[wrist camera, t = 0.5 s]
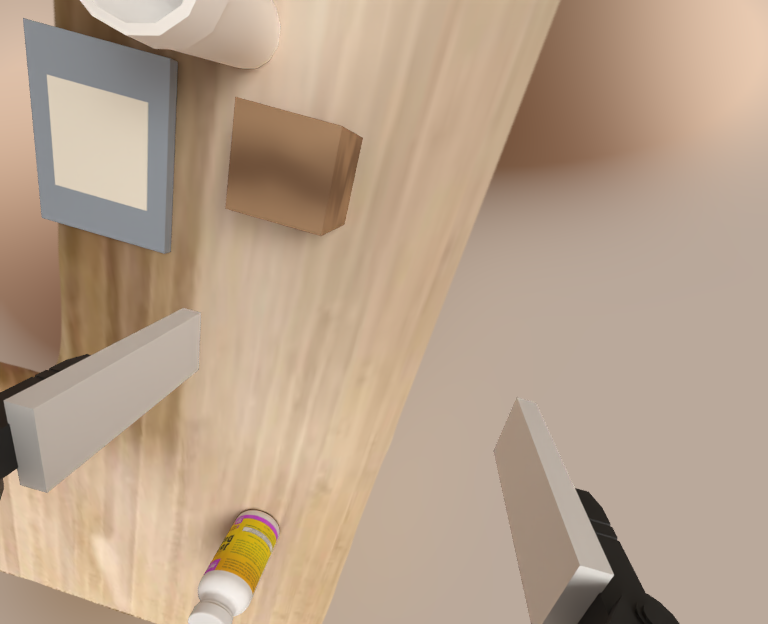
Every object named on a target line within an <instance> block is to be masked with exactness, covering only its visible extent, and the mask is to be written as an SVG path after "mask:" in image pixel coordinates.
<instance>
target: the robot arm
mask: <svg viewBox="0 0 768 624" xmlns="http://www.w3.org/2000/svg"><path fill="white" fill-rule="evenodd" d="M200 326H201V312H197V311H193V310H189V309H186V308H182V309H180V310H178V311H176V312H174V313H172V314H170V315H169V316H167V317H165V318H163V319H161V320H159V321H157V322H155V323H153V324H151V325H149V326H147V327H145V328H143V329H141V330H139V331H137V332H136V333H134V334H132V335H130V336H128V337H126V338H124V339H122V340H120V341H118V342H116V343H114V344H112V345H110V346H108V347H106V348H105V349H103V350H101V351H99V352H97V353H95V354H93V355H88V354H86V355H82V356H79V357H75V358H72V359H68V360H65V361H63V362H61V363H59V364H57V365H55V366H53V367H51V368H50V369H49V370H45V371H43V372H41V373H39V374H37V375H35V377H34V378H33V377H31V378H29V379H27V380H25V381H23V382H21V383H19V384H17V385H15V386H13V387H11V388H9V389H7V390H5V391H3V392H0V499H1V496H2V493H3V490H4V483H3V478H4V477H5V476H7V475H8V474H10V473H11V472H12V471H14V470H15V469H17V471H18V476H19V481H20V485H22V486H25V487H29V488H32V489H35V490H39V491H42V492H46V493H48V492H49V491H50V490H51V489H52V488H54V487H55V486H56V485H57V484H59V483H60V482H61V481H62V480H64V479H65V478H66V477H67V476H68V475H70V474H71V473H72V472H73V471H75V470H76V469H77V468H78V467H80V466H81V465H82V464H83V463H84V462H86V461H87V460H88V459H89V458H91V457H92V456H93V455H94V454H96V453H97V452H98V451H99V450H101V449H102V448H103V447H104V446H105V445H107V444H108V443H109V442H110V441H112V440H113V439H114V438H115V437H117V436H118V435H119V434H120V433H121V432H123V431H124V430H125V429H126V428H128V427H129V426H130V425H131V424H133V423H134V422H135V421H136V420H137V419H139V418H140V417H141V416H142V415H144V414H145V413H146V412H147V411H149V410H150V409H151V408H152V407H153V406H155V405H156V404H157V403H158V402H160V401H161V400H162V399H163V398H165V397H166V396H167V395H168V394H169V393H171V392H172V391H173V390H174V389H176V388H177V387H178V386H179V385H181V384H182V383H183V382H184V381H186V380H187V379H188V378H189V377H190V376H192V375H193V374H194V373H195V372H197V371H198V370H199V351H200ZM494 455H495V459H496V464H497V468H498V473H499V478H500V483H501V487H502V491H503V496H504V501H505V505H506V510H507V515H508V520H509V524H510V529H511V534H512V538H513V543H514V547H515V552H516V557H517V561H518V566H519V571H520V575H521V580H522V584H523V589H524V593H525V598H526V603H527V608H528V612H529V617H530V621H531V624H679V623H678V621H677V620H676V618H675V617H674V616H673V614H672V613H670V612H669V611H668V610H667V609H666V608H665V607H664V606H663V605H662V604H661V603H660V602H659V601H657V600H656V599H654V598H653V597H651V596H650V595H648V594H646V593H645V591H644V589H643V587H642V585H641V583H640V581H639V579H638V577H637V575H636V573H635V571H634V569H633V567H632V565H631V564H630V562H629V560H628V558H627V556H626V554H625V552H624V550H623V548H622V546H621V544H620V542H619V541H617V536H616V534H615V532H614V530H613V528H612V527H610V522H609V520H608V518H607V516H606V514H605V512H604V510H603V508H602V507H601V506H600V505H599V503H598V502H597V501H596V500H595V499H594V498H593V497H592V495H591V494H590V493H589V492H587V491H583V490H580V489H576V488H575V487H574V485H573V483H572V481H571V479H570V476H569V474H568V472H567V470H566V467H565V465H564V463H563V461H562V459H561V456H560V454H559V452H558V450H557V447H556V445H555V443H554V441H553V439H552V437H551V434H550V432H549V430H548V428H547V425H546V423H545V421H544V419H543V416H542V414H541V412H540V410H539V408H538V406H537V403H536V402H533V401H529V400H526V399H522V398H518V397H517V398H516V401H515V403H514V405H513V408H512V410H511V412H510V414H509V417H508V419H507V421H506V424H505V426H504V428H503V431H502V433H501V435H500V437H499V440H498V442H497V444H496V447H495V449H494Z"/></svg>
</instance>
